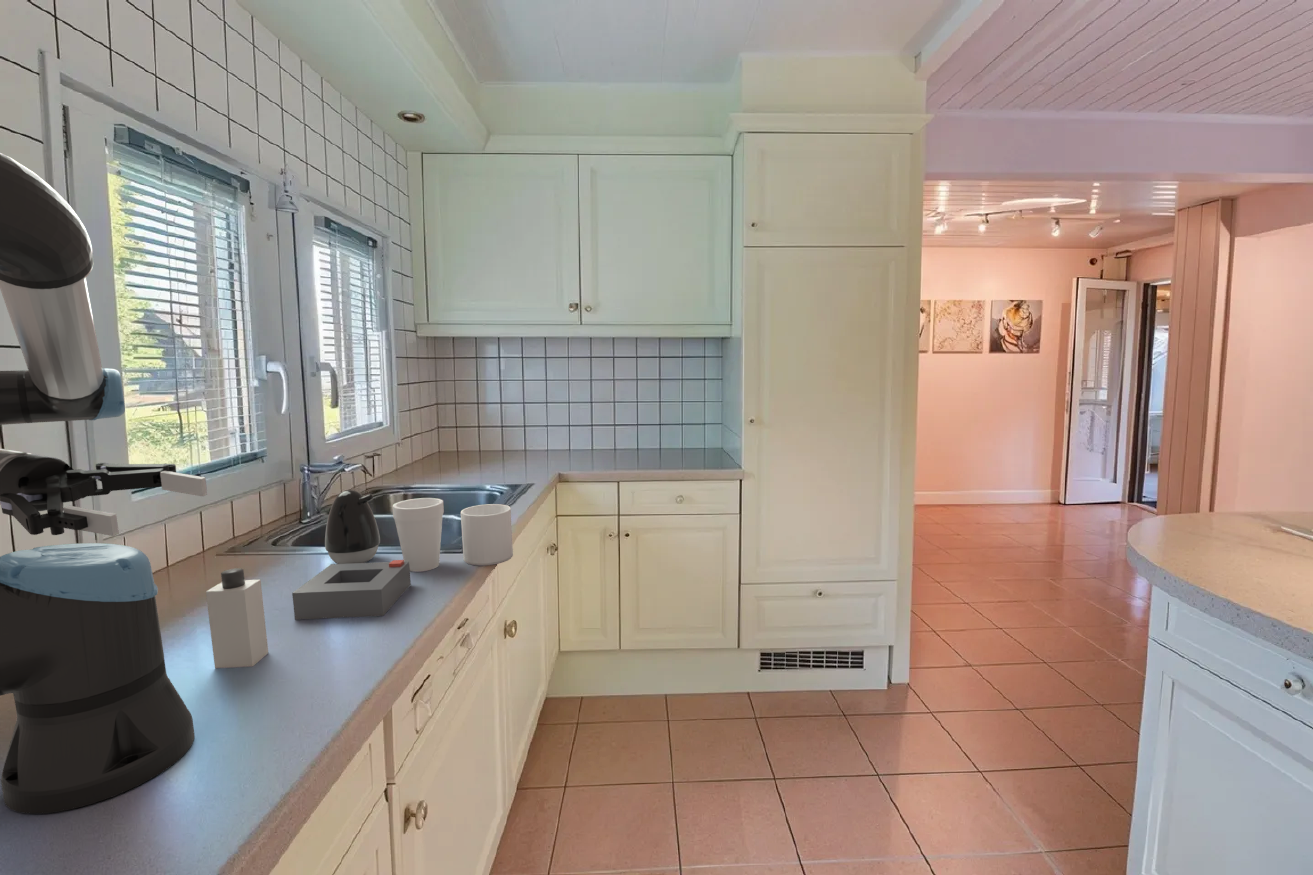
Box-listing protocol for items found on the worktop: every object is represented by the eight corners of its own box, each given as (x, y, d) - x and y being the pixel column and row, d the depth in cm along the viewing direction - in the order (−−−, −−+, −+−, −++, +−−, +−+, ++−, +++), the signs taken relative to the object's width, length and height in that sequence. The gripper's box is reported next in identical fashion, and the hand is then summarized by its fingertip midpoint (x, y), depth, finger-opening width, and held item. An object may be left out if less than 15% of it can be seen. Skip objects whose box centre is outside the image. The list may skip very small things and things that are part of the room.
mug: (509, 564, 128) (507, 514, 126) (459, 567, 127) (455, 517, 125) (517, 545, 140) (515, 500, 139) (471, 548, 139) (468, 502, 138)
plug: (252, 666, 87) (242, 575, 85) (215, 668, 87) (204, 577, 85) (268, 652, 91) (259, 565, 89) (232, 654, 91) (222, 567, 89)
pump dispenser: (361, 571, 125) (354, 496, 123) (315, 569, 127) (308, 495, 125) (392, 555, 135) (387, 485, 133) (349, 553, 137) (343, 484, 135)
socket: (383, 615, 103) (380, 585, 103) (294, 619, 103) (291, 589, 102) (410, 584, 117) (408, 558, 117) (333, 587, 116) (330, 561, 116)
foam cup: (401, 561, 131) (396, 499, 129) (448, 556, 133) (444, 496, 131) (394, 576, 122) (389, 510, 120) (445, 571, 124) (441, 506, 122)
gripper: (113, 475, 100) (236, 496, 98) (-85, 544, 76) (72, 573, 74) (106, 430, 98) (232, 451, 96) (-99, 486, 74) (62, 515, 72)
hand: (163, 504), depth 85 cm, fingers open, 13 cm apart
